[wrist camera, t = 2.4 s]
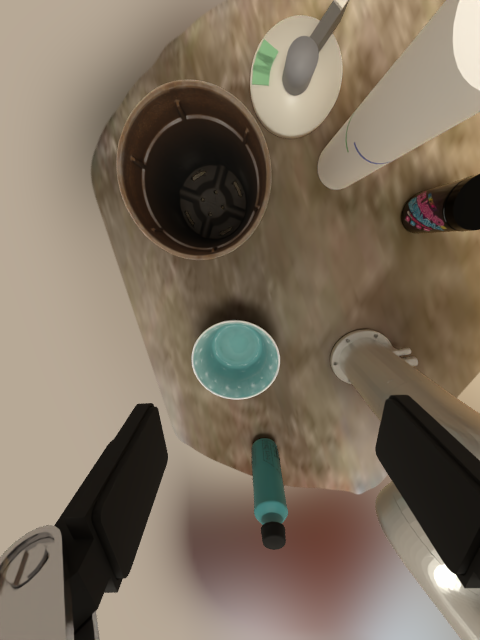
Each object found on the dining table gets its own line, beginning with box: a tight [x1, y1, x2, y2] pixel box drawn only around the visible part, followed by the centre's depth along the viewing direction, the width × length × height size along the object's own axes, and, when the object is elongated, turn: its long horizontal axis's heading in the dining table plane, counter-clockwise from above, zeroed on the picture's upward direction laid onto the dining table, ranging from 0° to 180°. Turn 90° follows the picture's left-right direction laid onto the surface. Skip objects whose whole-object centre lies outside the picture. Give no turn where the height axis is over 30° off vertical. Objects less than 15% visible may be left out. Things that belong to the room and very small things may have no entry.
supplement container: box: [402, 174, 480, 233], centre depth 33 cm, size 7×7×10 cm
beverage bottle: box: [251, 438, 288, 550], centre depth 46 cm, size 6×7×20 cm
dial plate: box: [250, 15, 343, 139], centre depth 32 cm, size 13×13×2 cm
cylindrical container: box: [317, 0, 480, 190], centre depth 24 cm, size 7×7×25 cm
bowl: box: [192, 320, 280, 399], centre depth 43 cm, size 16×16×8 cm
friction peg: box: [282, 0, 349, 95], centre depth 29 cm, size 10×4×4 cm, turn 142°
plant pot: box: [117, 80, 272, 260], centre depth 31 cm, size 16×16×16 cm
